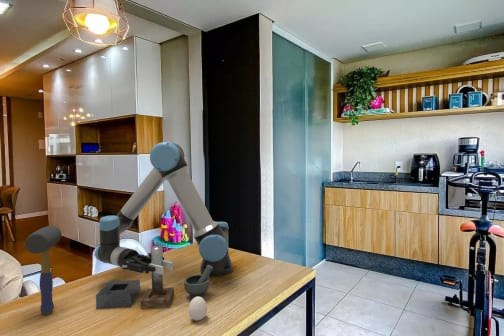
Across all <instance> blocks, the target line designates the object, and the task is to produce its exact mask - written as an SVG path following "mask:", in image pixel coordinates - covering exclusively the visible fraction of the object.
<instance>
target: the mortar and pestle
mask: <svg viewBox="0 0 504 336" xmlns="http://www.w3.org/2000/svg"><path fill="white" fill-rule="evenodd" d="M212 269H213V267H212V266H210V265H207V266H206V269H205V271H204V273H203V274H202V273H201V274H194V275H190V276H187V277H185V278H184V281H183V287H184V290H185V292H186V293H187V294H188V299H189V300H190V302H191V301H192V299H193V298H195V297H197V296H199V297H202V298H203V299H204V300H205V299H206V293H207V292H208V289H209V287H210V283H211V281H210V280H211V278H210V276H209V274H210V272H211V270H212Z"/></svg>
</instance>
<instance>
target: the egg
mask: <svg viewBox="0 0 504 336" xmlns="http://www.w3.org/2000/svg"><path fill="white" fill-rule="evenodd" d="M189 302H190V303H189V305H188V314H189V317H190V318H191V319H192V320H193V321H201V320H203V319H204V318H205V316H206V315H207V312H208V305H207V302H206V301H205V298H204V299H203V298H202V297H199V296H197V297H195V298H193V299H192V301H191V300H190V301H189Z"/></svg>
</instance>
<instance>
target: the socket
mask: <svg viewBox="0 0 504 336" xmlns="http://www.w3.org/2000/svg"><path fill="white" fill-rule="evenodd" d="M140 293H141V280H140V279H125V280H109V281H108V282H107V283H106V284H105V285H104V286H103V287H102V288H101V289H100V290H99V291H98V292H97V294H96V295H95V309H96V310H98V309H99V310H100V309H103V310H104V309H116V308H119V309H120V308H121V309H122V308H131V307H132V306H133V304H134V303H135V301H136V299H137V298H138V296H139V294H140Z"/></svg>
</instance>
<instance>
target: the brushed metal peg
mask: <svg viewBox="0 0 504 336" xmlns="http://www.w3.org/2000/svg"><path fill="white" fill-rule="evenodd" d="M150 249H151V252H150V253H151V261H152V264H155V265H159V266H163V257H164V255H163V253H164V252H163V250H164V248H163V246H162V245H153V246H152V247H151V248H150ZM151 288H152V291H153V292H159V291H162V290H163V288H164V274H163V275H161V274H158V273H154V272H151Z"/></svg>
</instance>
